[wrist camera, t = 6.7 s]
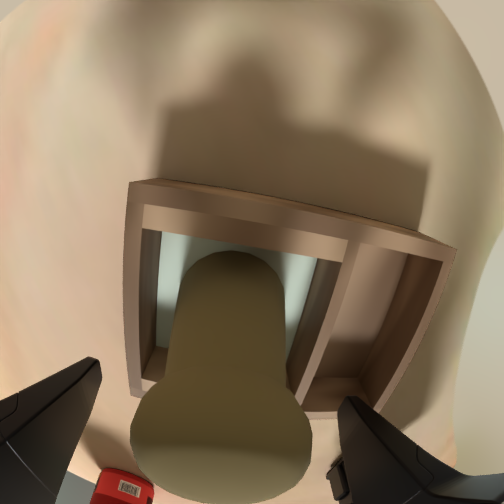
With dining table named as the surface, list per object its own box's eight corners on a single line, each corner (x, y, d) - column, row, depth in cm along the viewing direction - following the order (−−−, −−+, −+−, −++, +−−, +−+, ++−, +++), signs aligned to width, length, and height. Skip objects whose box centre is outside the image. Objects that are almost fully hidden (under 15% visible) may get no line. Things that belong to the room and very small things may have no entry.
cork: (174, 249, 14) (61, 406, 4) (289, 251, 14) (374, 423, 4) (182, 343, 16) (138, 506, 6) (281, 345, 16) (313, 514, 6)
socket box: (418, 231, 15) (456, 249, 11) (359, 380, 19) (377, 415, 15) (157, 178, 14) (128, 182, 10) (147, 356, 17) (130, 395, 13)
